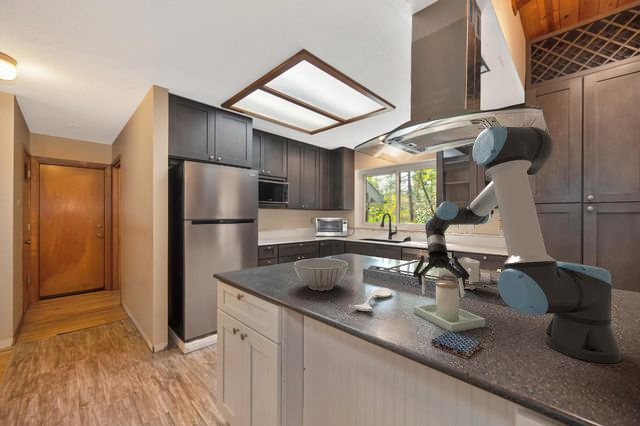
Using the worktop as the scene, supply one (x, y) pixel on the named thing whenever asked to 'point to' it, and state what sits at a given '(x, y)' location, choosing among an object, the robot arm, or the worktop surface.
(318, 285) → the decorative bowl
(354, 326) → the worktop surface
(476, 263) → the pitcher
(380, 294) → the spoon
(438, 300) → the canister
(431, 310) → the tray
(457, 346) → the woven mat
